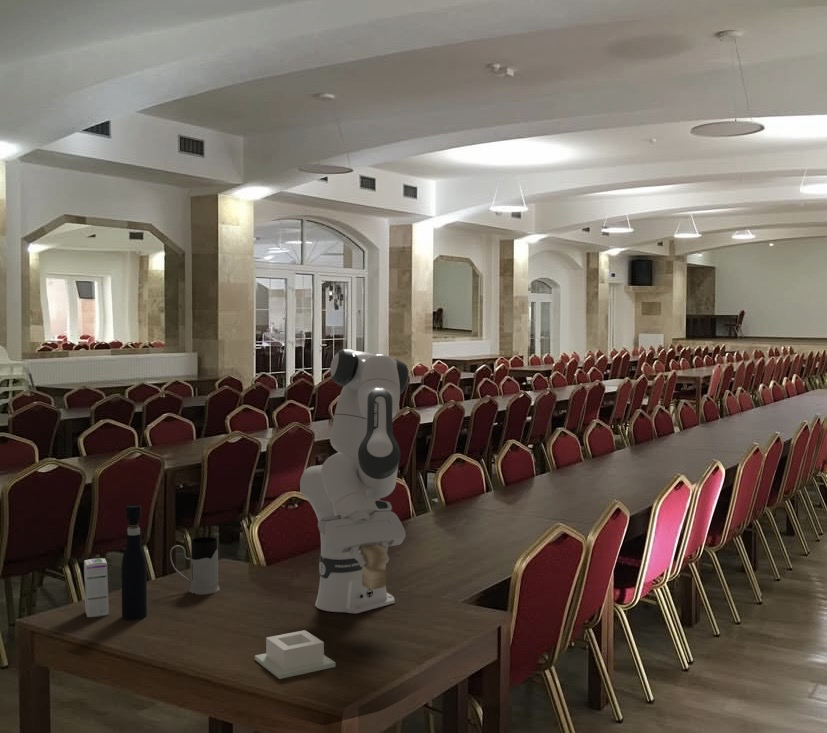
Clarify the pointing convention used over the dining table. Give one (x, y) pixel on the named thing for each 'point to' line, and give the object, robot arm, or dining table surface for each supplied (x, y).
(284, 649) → the white socket base
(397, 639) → the dining table surface
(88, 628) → the dining table surface
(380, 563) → the tan tall wooden block
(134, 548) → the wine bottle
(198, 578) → the grey mug
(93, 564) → the syrup box
